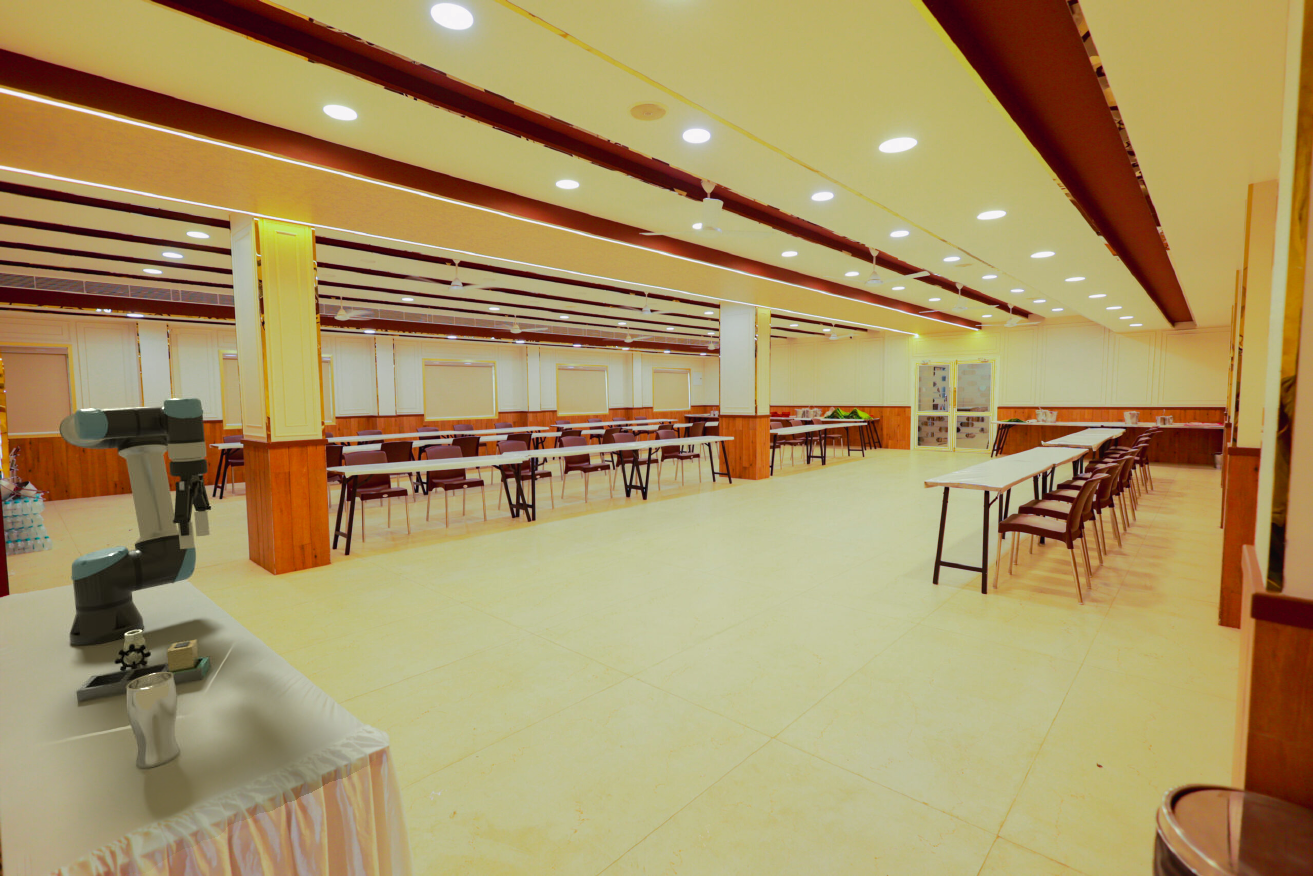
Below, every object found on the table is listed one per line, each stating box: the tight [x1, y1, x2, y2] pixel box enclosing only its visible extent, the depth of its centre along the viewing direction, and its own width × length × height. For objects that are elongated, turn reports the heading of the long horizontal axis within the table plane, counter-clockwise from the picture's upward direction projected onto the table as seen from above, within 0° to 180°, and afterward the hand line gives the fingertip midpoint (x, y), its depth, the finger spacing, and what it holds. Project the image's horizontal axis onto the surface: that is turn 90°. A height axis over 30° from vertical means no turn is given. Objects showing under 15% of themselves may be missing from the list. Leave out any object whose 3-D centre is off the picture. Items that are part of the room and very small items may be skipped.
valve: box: [114, 629, 152, 671], centre depth 148 cm, size 7×7×12 cm
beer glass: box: [126, 672, 180, 770], centre depth 109 cm, size 7×7×15 cm
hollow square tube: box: [166, 639, 199, 673], centre depth 139 cm, size 5×5×8 cm
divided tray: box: [75, 656, 211, 703], centre depth 137 cm, size 7×22×3 cm, turn 114°
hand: (195, 541), depth 152 cm, fingers open, 13 cm apart
